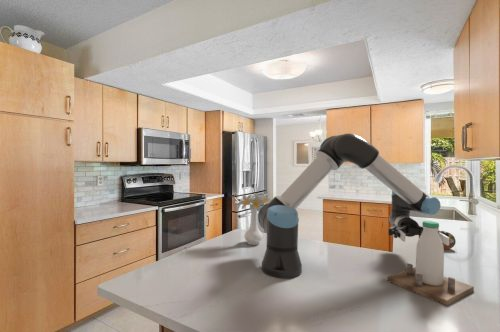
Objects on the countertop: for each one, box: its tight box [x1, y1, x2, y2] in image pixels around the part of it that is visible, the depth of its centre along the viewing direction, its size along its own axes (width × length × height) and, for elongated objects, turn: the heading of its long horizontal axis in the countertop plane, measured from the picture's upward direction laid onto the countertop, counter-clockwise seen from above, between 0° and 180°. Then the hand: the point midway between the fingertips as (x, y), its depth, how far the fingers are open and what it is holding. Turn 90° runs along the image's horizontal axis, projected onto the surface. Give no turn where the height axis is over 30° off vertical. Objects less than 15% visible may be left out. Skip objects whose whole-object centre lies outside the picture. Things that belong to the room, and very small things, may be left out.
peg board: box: [386, 263, 475, 306], centre depth 89 cm, size 18×18×5 cm
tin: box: [418, 230, 456, 250], centre depth 131 cm, size 15×3×8 cm, turn 69°
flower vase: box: [234, 192, 272, 246], centre depth 132 cm, size 13×18×25 cm
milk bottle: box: [415, 220, 445, 286], centre depth 89 cm, size 8×8×20 cm
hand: (425, 239), depth 93 cm, fingers open, 13 cm apart
